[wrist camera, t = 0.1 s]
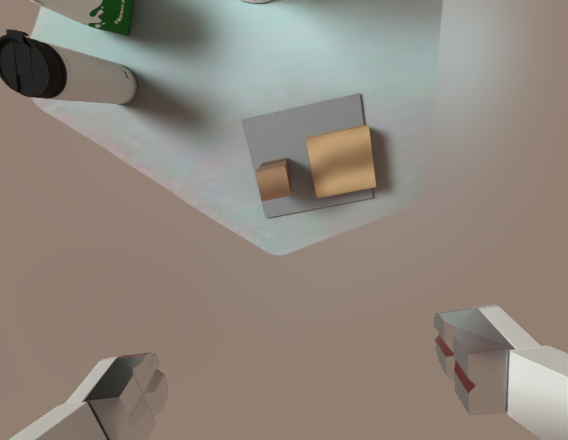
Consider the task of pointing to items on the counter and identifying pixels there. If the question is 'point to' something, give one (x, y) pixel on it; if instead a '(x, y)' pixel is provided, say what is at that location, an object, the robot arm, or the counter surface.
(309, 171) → the grey mat
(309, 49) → the counter surface
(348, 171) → the oak base block
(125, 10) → the milk carton
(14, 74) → the travel mug
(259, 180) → the walnut column
